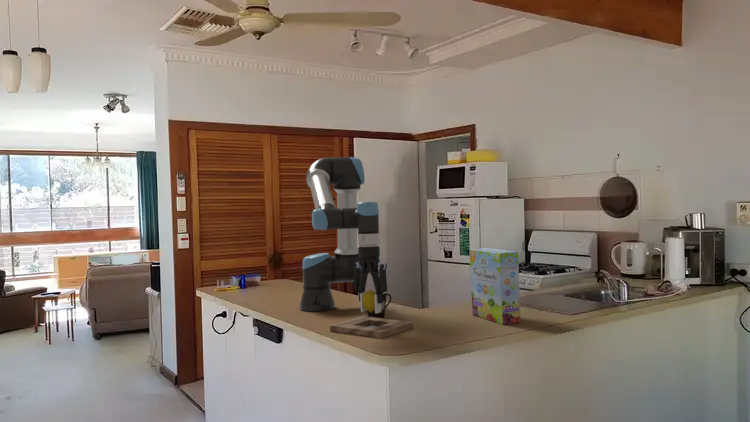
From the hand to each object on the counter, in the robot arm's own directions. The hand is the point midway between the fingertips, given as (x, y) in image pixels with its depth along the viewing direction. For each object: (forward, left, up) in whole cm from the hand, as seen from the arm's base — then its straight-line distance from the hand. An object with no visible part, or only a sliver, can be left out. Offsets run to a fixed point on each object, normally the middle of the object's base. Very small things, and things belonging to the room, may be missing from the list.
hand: (371, 311), depth 198 cm
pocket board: (0, 0, -6) cm, 6 cm away
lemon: (0, 0, -1) cm, 1 cm away
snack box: (+30, +37, -6) cm, 48 cm away
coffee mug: (-9, +18, -6) cm, 21 cm away
